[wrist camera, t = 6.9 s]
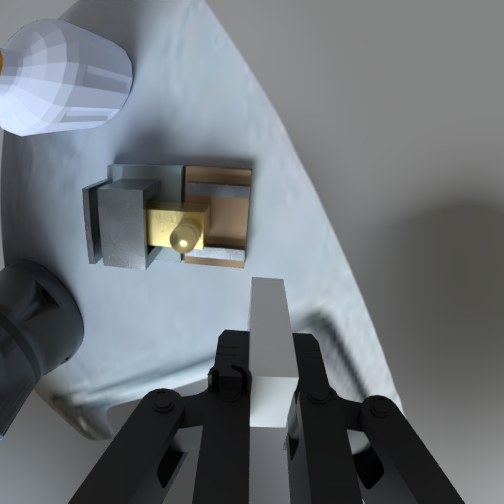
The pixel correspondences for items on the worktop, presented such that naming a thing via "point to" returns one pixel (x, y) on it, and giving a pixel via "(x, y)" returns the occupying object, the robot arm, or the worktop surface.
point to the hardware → (141, 221)
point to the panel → (221, 208)
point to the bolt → (177, 224)
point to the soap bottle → (60, 79)
